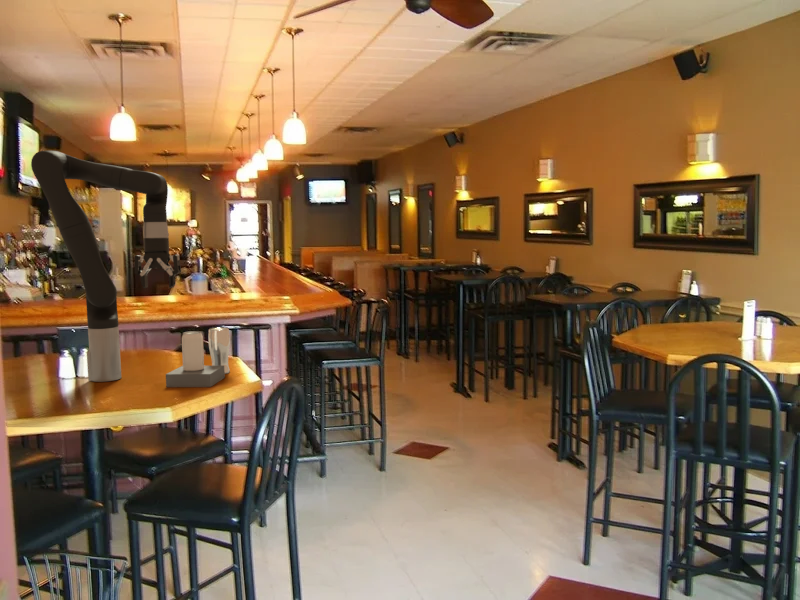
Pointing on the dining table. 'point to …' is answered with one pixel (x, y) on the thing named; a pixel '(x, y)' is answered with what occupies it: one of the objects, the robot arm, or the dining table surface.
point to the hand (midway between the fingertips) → (158, 287)
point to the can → (192, 351)
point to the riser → (195, 377)
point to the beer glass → (219, 347)
